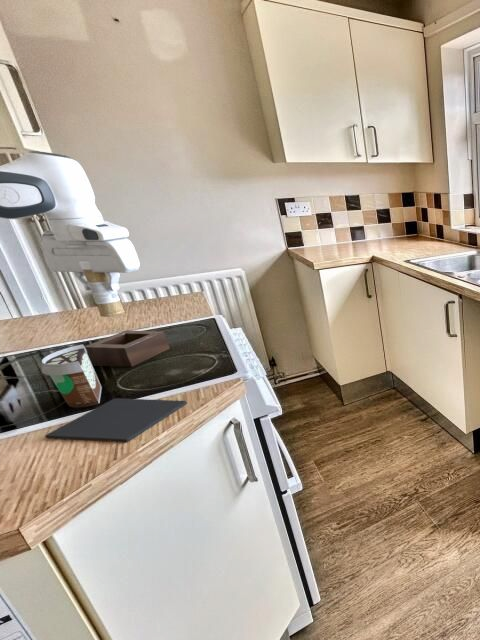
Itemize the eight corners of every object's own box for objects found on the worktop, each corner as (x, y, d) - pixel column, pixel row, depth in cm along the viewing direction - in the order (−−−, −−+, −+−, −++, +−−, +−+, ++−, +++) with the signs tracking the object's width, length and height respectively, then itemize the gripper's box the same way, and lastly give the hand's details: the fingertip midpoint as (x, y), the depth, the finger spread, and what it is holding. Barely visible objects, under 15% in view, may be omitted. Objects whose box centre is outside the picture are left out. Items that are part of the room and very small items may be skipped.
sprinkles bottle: (113, 311, 105) (92, 257, 100) (130, 311, 104) (110, 257, 99) (95, 317, 100) (72, 261, 95) (112, 317, 100) (90, 261, 95)
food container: (63, 394, 90) (42, 351, 86) (102, 384, 93) (83, 343, 90) (56, 418, 81) (32, 371, 77) (98, 406, 85) (78, 362, 81)
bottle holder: (91, 365, 103) (82, 347, 101) (132, 347, 113) (125, 330, 111) (132, 367, 102) (124, 348, 100) (170, 348, 112) (163, 331, 110)
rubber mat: (46, 438, 75) (44, 435, 75) (115, 400, 87) (114, 398, 87) (127, 442, 74) (126, 439, 73) (187, 403, 85) (186, 400, 85)
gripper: (23, 232, 93) (49, 292, 98) (107, 232, 91) (129, 294, 96) (54, 228, 99) (77, 286, 104) (134, 229, 97) (154, 287, 102)
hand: (103, 290), depth 100 cm, fingers closed on sprinkles bottle, 4 cm apart
